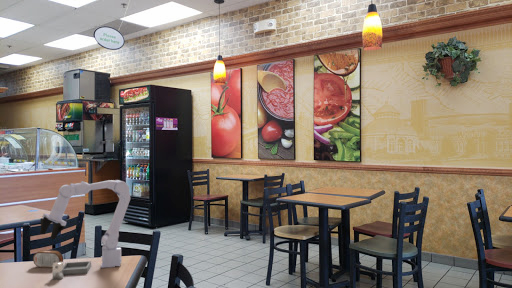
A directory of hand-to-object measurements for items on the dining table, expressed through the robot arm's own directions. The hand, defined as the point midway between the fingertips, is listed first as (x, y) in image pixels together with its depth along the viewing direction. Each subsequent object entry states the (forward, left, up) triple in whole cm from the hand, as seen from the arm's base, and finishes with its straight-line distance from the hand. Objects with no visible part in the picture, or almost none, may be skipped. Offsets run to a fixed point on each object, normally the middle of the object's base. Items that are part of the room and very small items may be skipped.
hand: (47, 236), depth 183 cm
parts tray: (-12, -5, -19) cm, 23 cm away
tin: (+3, -14, -19) cm, 24 cm away
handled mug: (-6, +5, -19) cm, 20 cm away
